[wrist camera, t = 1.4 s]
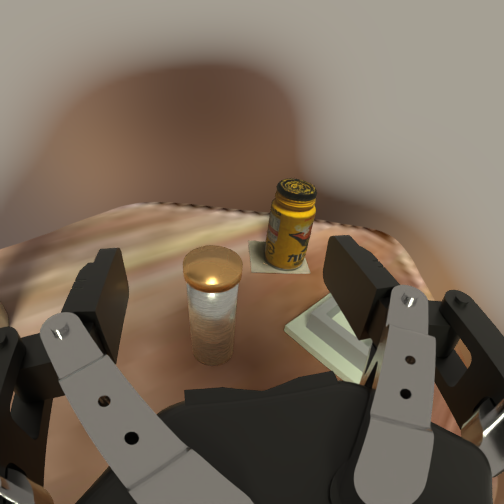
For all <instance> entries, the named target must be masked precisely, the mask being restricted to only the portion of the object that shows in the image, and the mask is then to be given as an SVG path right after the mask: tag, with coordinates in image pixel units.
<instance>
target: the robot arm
mask: <svg viewBox="0 0 504 504" xmlns="http://www.w3.org/2000/svg"><path fill="white" fill-rule="evenodd" d="M323 279H324V282H325V285H326V286H327V288H328V290H329V291H330V293H331V295H332V296H333V298H334V300H335V301H336V303H337V305H338V306H339V308H340V310H341V311H342V313H343V315H344V316H345V318H346V320H347V321H348V323H349V325H350V327H351V328H352V330H353V332H354V333H355V335H356V337H357V339H358V340H359V341H360V340H364V339H369V338H371V340H372V343H371V346H370V348H369V352H368V356H367V359H366V363H365V367H364V370H363V374H362V377H361V381H360V384H357V383H353V382H348V381H337V379H336V376H335V374H334V372H333V371H329V372H324V373H319V374H313V375H308V376H302V377H298V378H296V379H293V380H291V381H289V382H286V383H284V384H281V385H279V386H276V387H273V388H271V389H268V390H265V391H256V390H244V389H234V388H225V387H220V388H208V389H193V390H184V393H185V401H183V402H179V403H176V404H174V405H171V406H169V407H167V408H166V409H164V410H162V411H161V412H159V413H158V414H155V413H154V411H153V410H152V409H151V408H150V407H149V406H148V405H147V403H146V402H145V401H144V400H143V399H142V398H141V396H140V395H139V394H138V393H137V392H136V390H135V389H134V388H133V387H132V386H131V384H130V383H129V382H128V381H127V379H126V378H125V377H124V376H123V374H122V373H121V372H120V370H119V369H118V368H117V366H116V365H115V364H116V362H117V356H118V350H119V344H120V338H121V333H122V328H123V322H124V317H125V313H126V308H127V303H128V298H129V287H128V281H127V276H126V272H125V267H124V263H123V258H122V253H121V250H120V248H107V249H100V250H99V252H98V254H97V256H96V258H95V261H94V263H88V264H87V265H85V266H84V267H83V268H82V269H81V270H80V271H79V273H78V275H77V277H76V280H75V282H74V284H73V286H72V289H71V290H70V293H69V295H68V297H67V299H66V302H65V304H64V306H63V309H62V311H61V313H58V314H55V315H53V316H51V317H50V318H48V319H47V320H46V321H45V322H44V324H43V325H42V327H41V329H40V333H38V334H34V335H30V336H26V337H23V338H20V336H19V334H18V332H17V331H16V329H14V328H13V327H8V326H9V319H8V315H7V312H6V310H5V309H4V307H3V305H2V303H1V302H0V504H54V502H53V499H52V497H51V495H50V494H49V493H48V491H47V490H46V489H44V488H43V486H44V467H45V454H46V444H47V435H48V428H49V420H50V414H51V408H52V402H53V398H55V397H60V396H64V395H66V397H67V399H68V401H69V403H70V404H71V406H72V408H73V410H74V412H75V413H76V415H77V417H78V419H79V420H80V422H81V424H82V425H83V427H84V428H85V430H86V432H87V433H88V435H89V436H90V438H91V440H92V441H93V443H94V444H95V446H96V447H97V449H98V450H99V452H100V453H101V455H102V456H103V457H104V459H105V460H106V462H107V463H108V464H109V467H108V468H107V469H106V470H105V471H104V472H103V474H102V475H101V476H100V477H99V478H98V479H97V480H96V481H95V482H94V484H93V485H92V486H91V487H90V488H89V489H88V490H87V491H86V492H85V493H84V495H83V496H82V497H81V498H80V499H79V500H78V501H77V502H76V503H75V504H493V498H492V477H496V476H498V475H499V474H501V473H502V472H504V336H503V335H502V334H501V333H500V331H499V330H498V329H497V328H496V326H495V325H494V324H493V323H492V321H491V320H490V319H489V318H488V317H487V316H486V314H485V313H484V312H483V311H482V310H481V309H480V308H479V306H478V305H477V304H476V303H475V302H474V300H473V299H472V298H471V297H470V296H468V295H467V294H465V293H463V292H461V291H458V290H449V291H447V292H446V294H445V296H444V298H443V300H442V301H430V300H428V299H427V297H426V296H425V294H424V293H423V292H421V291H420V290H418V289H417V288H415V287H412V286H408V285H400V284H399V283H398V282H397V281H396V280H395V278H394V277H393V276H392V275H391V274H390V273H389V272H388V271H387V269H386V268H385V267H384V268H383V265H382V264H381V263H380V262H379V261H378V259H377V258H376V257H375V256H374V255H373V254H372V253H371V252H369V251H368V250H366V249H364V248H363V247H361V246H359V245H358V244H357V243H356V242H355V241H354V240H353V238H352V237H351V236H349V235H341V236H331V237H330V238H329V241H328V246H327V251H326V257H325V262H324V268H323ZM459 339H461V340H462V341H463V343H464V344H465V345H466V347H467V348H468V350H469V351H470V353H471V356H472V361H471V364H470V366H469V368H468V369H467V368H466V366H465V365H464V363H463V362H462V360H461V359H460V357H459V356H458V354H457V353H456V351H455V350H454V348H455V346H456V344H457V343H458V341H459ZM434 382H435V383H436V385H437V387H438V389H439V391H440V392H441V394H442V396H443V398H444V400H445V401H446V403H447V405H448V407H449V409H450V411H451V412H452V414H453V416H454V418H455V420H456V422H457V424H458V426H459V428H460V430H461V437H460V436H458V435H456V434H454V433H452V432H450V431H448V430H446V429H444V428H442V427H440V426H438V425H436V424H434V423H432V422H431V414H432V404H433V393H434ZM13 391H14V392H15V395H14V399H13V403H12V408H11V412H10V403H11V399H12V395H13Z"/></svg>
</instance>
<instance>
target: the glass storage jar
mask: <svg viewBox="0 0 504 504" xmlns="http://www.w3.org/2000/svg"><path fill="white" fill-rule="evenodd" d="M242 265H243V264H242V260H241V258H240V257H239V255H238V254H237V253H235V252H234V251H232V250H230V249H228V248H225V247H221V246H203V247H199V248H196V249H194V250H192V251H191V252H189V253H188V254H187V255H186V257H185V258H184V261H183V273H184V278H185V281H186V282H187V296H188V309H189V320H190V331H191V341H192V351H193V354H194V356H195V358H196V359H197V360H198V361H199V362H201V363H203V364H205V365H210V366H216V365H221V364H223V363H225V362H226V361H228V360H229V359H230V357H231V356H232V353H233V343H234V331H235V319H236V307H237V295H238V283H239V282H240V280H241V276H242Z"/></svg>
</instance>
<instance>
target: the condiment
mask: <svg viewBox="0 0 504 504" xmlns="http://www.w3.org/2000/svg"><path fill="white" fill-rule="evenodd" d="M316 195H317V192H316V189H315V187H314V186H313V185H312V184H310V183H308V182H306V181H303V180H299V179H284V180H282V181H280V182H279V183H278V185H277V191H276V194H275V197H276V198H275V199H274V200H273V201H272V204H271V211H270V218H269V225H268V232H267V239H266V242H258V241H248V242H249V253H250V262H251V271H252V272H260V273H264V272H267V273H286V274H287V273H291V274H309V273H310V270H309V268H308V265H307V262H306V259H305V255H306V251H307V246H308V242H309V238H310V235H311V229H312V225H313V221H314V217H315V212H316V209H315V206H314V204H315V198H316ZM263 263H265V264H263ZM266 264H267V265H266Z"/></svg>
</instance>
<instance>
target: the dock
mask: <svg viewBox="0 0 504 504" xmlns="http://www.w3.org/2000/svg"><path fill="white" fill-rule="evenodd" d="M284 331H285V332H286V333H287V334H288V335H289V336H290V337H292V338H293V339H294V340H295V341H296V342H298V343H299V344H300V345H301V346H302V347H303V348H305V349H306V350H307V351H308V352H309V353H311V354H312V355H313V356H314V357H315V358H317V359H318V360H319V361H320V362H321V363H323V364H324V365H325V366H326V367H328V368H329V369H330V370H331V371H333V372H334V373H335V374H336V375H337V376H339V377H340V378H341V379H342V380H343V381H348V382H353V383H357V384H360V381H361V377H362V374H363V370H364V367H365V363H366V359H367V356H368V352H369V348H370V346H371V343H372V340H371V338H369V339H364V340H360V341H359V340H358V339H357V337H356V335H355V333H354V332H353V330H352V328H351V327H350V325H349V323H348V321H347V320H346V318H345V316H344V315H343V313H342V311H341V310H340V308H339V306H338V305H337V303H336V301H335V300H334V298H333V296H332V295H331V293H329V294H328V295H327V296H325V297H324V298H323V299H321V300H320V301H319V302H317V303H316V304H315V305H313V306H312V307H310V308H309V309H308V310H306V311H305V312H304V313H302V314H301V315H299V316H298V317H297V318H295V319H294V320H292V321H291V322H290V323H288V324H287V325H285V329H284Z"/></svg>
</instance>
